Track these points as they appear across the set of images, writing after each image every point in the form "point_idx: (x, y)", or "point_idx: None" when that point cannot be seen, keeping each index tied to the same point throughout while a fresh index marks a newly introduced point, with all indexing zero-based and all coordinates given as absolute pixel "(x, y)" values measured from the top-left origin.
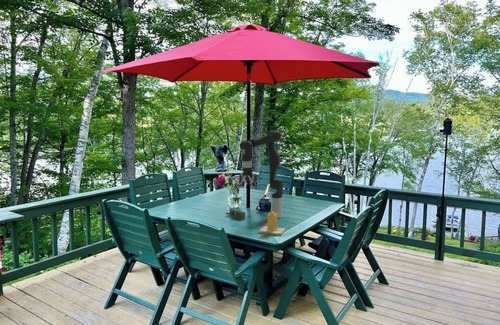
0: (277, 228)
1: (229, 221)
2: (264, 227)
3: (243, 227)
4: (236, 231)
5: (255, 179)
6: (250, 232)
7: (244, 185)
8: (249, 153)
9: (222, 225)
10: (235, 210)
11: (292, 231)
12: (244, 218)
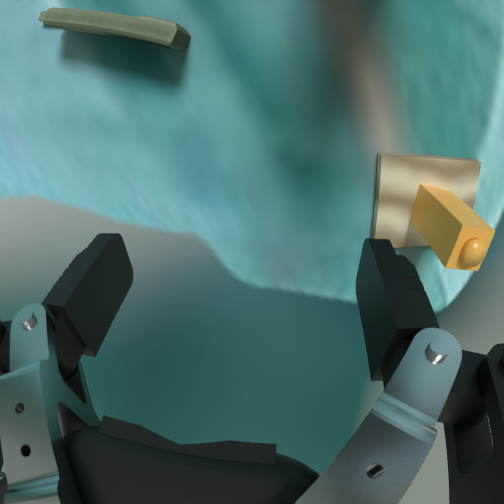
0: (449, 177)
1: (131, 124)
2: (388, 182)
3: (264, 189)
4: (261, 259)
5: (476, 446)
6: (330, 247)
7: (114, 246)
8: None
9: (145, 206)
10: (92, 29)
11: (497, 167)
12: (187, 39)
